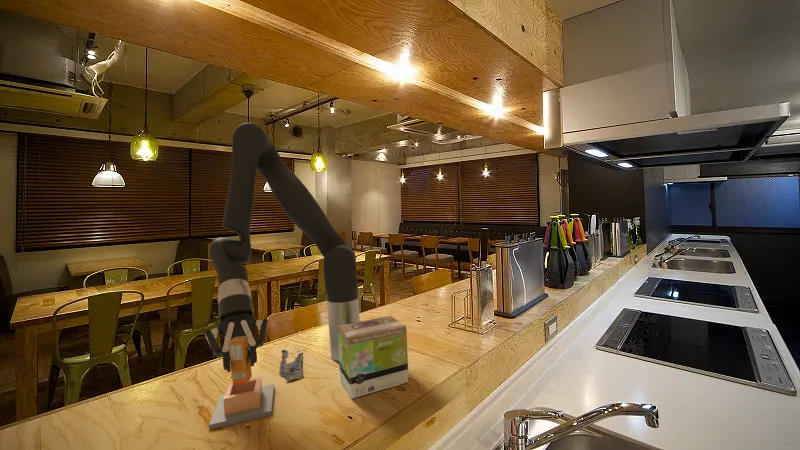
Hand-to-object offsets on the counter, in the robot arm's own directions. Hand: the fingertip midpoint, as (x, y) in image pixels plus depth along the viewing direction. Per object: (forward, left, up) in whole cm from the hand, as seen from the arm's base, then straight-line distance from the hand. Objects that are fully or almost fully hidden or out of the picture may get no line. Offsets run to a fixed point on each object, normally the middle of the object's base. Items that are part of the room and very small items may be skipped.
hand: (241, 367), depth 73 cm
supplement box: (0, -2, -4) cm, 5 cm away
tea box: (-30, 0, -10) cm, 32 cm away
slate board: (0, -2, -10) cm, 10 cm away
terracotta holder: (0, -2, -9) cm, 9 cm away
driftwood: (-10, -19, -11) cm, 24 cm away
